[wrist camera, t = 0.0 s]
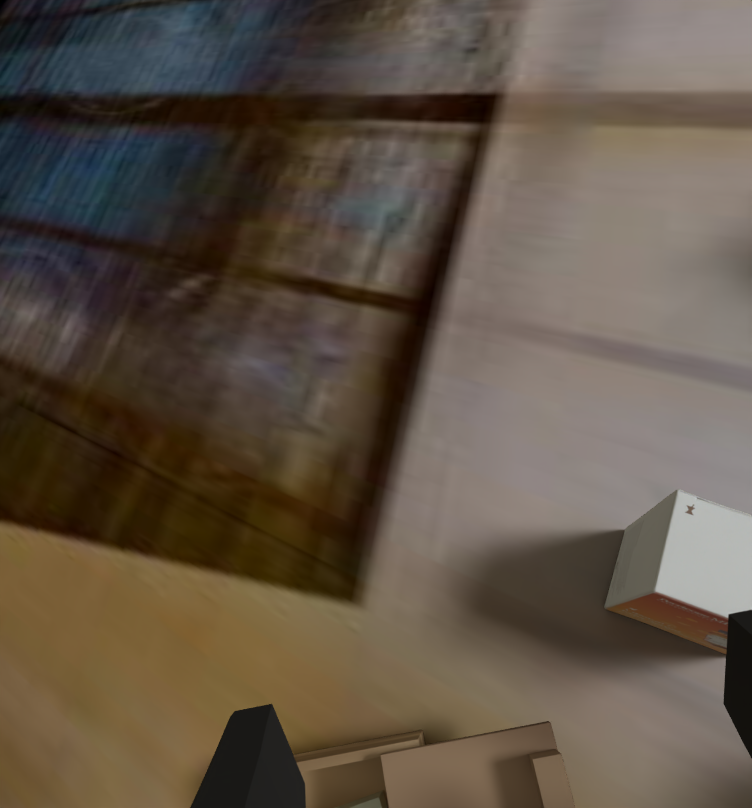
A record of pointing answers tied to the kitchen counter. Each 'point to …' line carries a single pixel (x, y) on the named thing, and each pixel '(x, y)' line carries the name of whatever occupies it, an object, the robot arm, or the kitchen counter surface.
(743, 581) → the small box
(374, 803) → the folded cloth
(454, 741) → the lid
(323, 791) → the carton
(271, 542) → the kitchen counter surface
